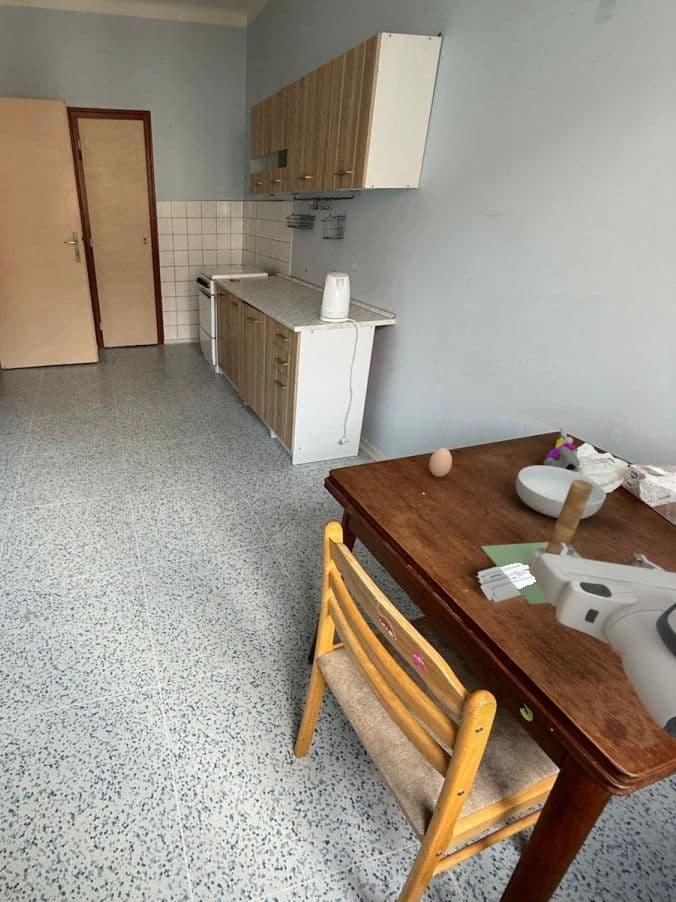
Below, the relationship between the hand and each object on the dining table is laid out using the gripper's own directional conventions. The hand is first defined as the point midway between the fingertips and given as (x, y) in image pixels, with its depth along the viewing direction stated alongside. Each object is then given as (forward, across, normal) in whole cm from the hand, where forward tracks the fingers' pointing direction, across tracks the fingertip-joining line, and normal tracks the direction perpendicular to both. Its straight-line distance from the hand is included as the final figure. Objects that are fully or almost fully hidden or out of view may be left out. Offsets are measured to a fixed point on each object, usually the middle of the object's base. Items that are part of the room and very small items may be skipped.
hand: (598, 551), depth 73 cm
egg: (+46, +16, +16) cm, 52 cm away
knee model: (+63, -17, +16) cm, 67 cm away
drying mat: (+13, -1, +16) cm, 20 cm away
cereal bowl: (+37, -8, +16) cm, 41 cm away
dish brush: (+12, 0, +15) cm, 19 cm away
